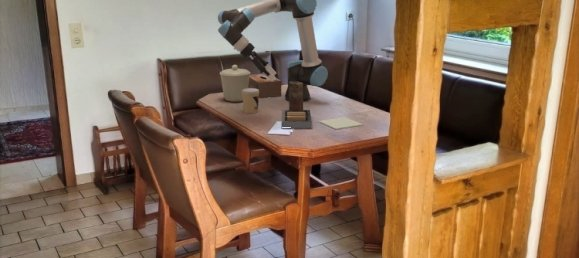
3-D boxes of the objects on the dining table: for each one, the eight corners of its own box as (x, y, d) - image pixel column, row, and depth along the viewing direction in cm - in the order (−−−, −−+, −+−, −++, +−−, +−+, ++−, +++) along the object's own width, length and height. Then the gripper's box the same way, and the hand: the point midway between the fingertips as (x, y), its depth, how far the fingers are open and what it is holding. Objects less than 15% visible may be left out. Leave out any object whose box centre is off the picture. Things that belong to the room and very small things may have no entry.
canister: (239, 95, 344) (238, 61, 339) (257, 100, 331) (256, 65, 325) (214, 99, 333) (213, 64, 327) (232, 105, 320) (231, 68, 314)
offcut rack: (282, 116, 296) (282, 109, 295) (309, 116, 296) (310, 109, 295) (281, 128, 273) (281, 121, 272) (311, 128, 273) (311, 121, 272)
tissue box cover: (281, 97, 342) (281, 80, 339) (258, 98, 337) (258, 82, 334) (267, 88, 365) (267, 73, 362) (246, 90, 360) (246, 75, 357)
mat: (344, 118, 292) (344, 117, 292) (362, 125, 279) (362, 124, 279) (318, 122, 284) (318, 121, 284) (336, 129, 271) (336, 128, 271)
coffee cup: (257, 113, 301) (256, 92, 297) (240, 113, 302) (239, 91, 299) (261, 109, 309) (261, 88, 306) (245, 109, 311) (244, 87, 308)
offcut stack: (287, 124, 281) (287, 111, 279) (305, 124, 281) (305, 112, 279) (287, 126, 277) (287, 114, 275) (305, 126, 277) (305, 114, 275)
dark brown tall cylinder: (288, 118, 293) (288, 80, 287) (302, 117, 293) (302, 80, 288) (289, 121, 285) (289, 83, 280) (304, 121, 286) (304, 82, 280)
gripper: (241, 49, 292) (270, 77, 296) (236, 56, 268) (268, 87, 272) (251, 39, 290) (280, 68, 294) (247, 45, 266) (279, 76, 270)
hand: (274, 77), depth 283 cm, fingers open, 13 cm apart
